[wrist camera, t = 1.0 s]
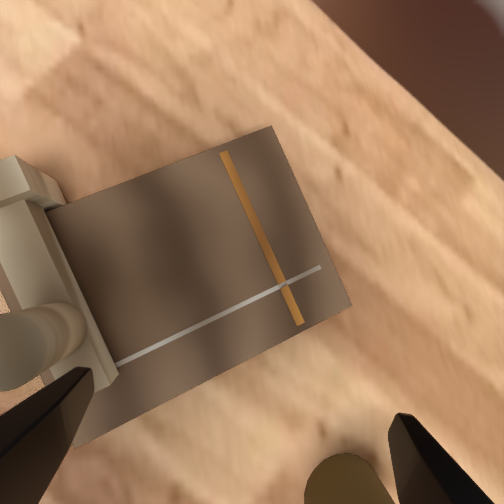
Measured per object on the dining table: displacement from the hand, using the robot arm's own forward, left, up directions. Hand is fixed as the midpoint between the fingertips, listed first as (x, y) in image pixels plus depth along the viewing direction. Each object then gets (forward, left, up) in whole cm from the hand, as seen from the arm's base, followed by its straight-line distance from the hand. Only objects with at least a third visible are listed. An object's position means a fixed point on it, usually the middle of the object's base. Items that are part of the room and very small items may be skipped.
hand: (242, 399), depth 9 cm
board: (-1, +4, -14) cm, 15 cm away
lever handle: (-8, +7, -14) cm, 17 cm away
